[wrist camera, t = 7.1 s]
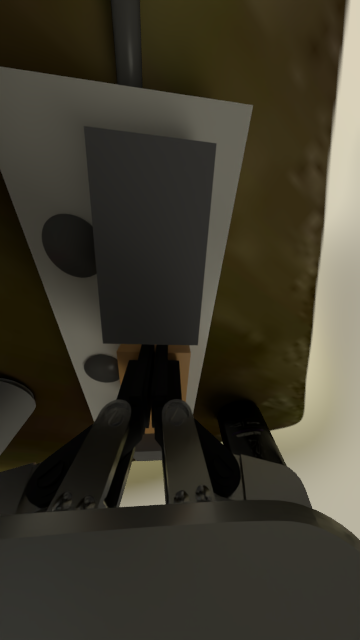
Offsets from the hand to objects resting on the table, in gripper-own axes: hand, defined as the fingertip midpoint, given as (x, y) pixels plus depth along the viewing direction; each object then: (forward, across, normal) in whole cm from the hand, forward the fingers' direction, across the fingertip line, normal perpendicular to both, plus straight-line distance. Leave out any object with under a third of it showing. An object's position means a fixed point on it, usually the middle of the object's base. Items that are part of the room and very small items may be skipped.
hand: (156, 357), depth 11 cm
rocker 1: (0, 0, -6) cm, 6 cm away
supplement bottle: (+6, -12, +17) cm, 22 cm away
